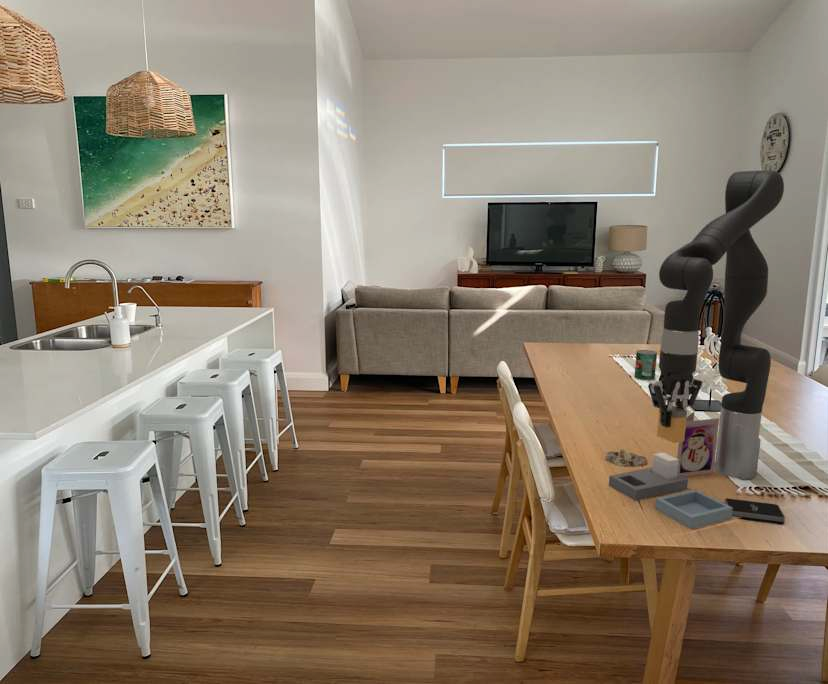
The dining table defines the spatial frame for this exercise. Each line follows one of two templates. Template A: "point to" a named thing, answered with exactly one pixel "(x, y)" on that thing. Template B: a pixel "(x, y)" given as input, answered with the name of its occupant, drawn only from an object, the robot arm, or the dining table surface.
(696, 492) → the parts tray
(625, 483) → the fuse holder
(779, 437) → the dining table surface
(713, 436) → the greeting card
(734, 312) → the robot arm
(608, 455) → the mineral rock
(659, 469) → the block
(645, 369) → the canned tomato
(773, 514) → the external hard drive
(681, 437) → the block
